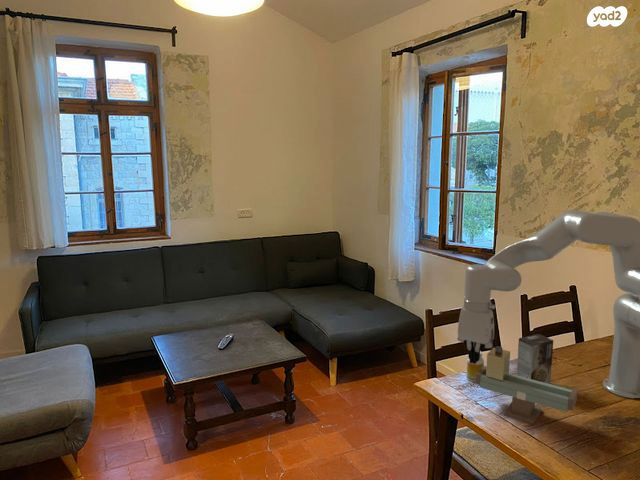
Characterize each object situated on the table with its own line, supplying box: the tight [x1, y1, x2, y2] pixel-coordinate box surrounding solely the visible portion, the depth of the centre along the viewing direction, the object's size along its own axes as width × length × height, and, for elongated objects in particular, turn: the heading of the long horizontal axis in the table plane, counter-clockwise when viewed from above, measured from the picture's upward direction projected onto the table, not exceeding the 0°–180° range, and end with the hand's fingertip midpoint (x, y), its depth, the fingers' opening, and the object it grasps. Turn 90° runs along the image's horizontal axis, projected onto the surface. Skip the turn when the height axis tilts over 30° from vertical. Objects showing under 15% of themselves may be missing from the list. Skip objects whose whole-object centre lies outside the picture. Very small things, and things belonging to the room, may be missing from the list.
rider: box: [485, 345, 511, 381], centre depth 145 cm, size 5×6×10 cm
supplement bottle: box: [466, 350, 485, 383], centre depth 163 cm, size 5×5×10 cm
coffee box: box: [515, 333, 554, 384], centre depth 158 cm, size 9×6×16 cm
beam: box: [475, 365, 579, 425], centre depth 142 cm, size 26×9×10 cm, turn 53°
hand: (473, 361), depth 149 cm, fingers closed
